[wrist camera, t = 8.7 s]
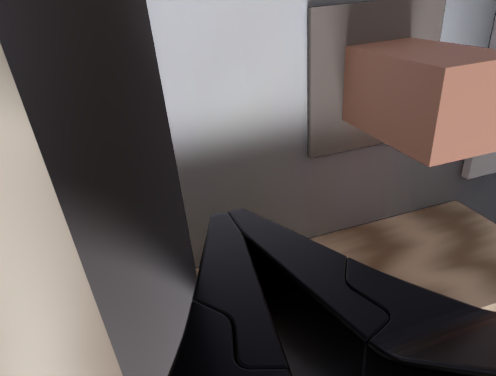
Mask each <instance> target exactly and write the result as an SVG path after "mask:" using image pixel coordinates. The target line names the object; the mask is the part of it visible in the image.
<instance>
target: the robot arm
mask: <svg viewBox="0 0 496 376" xmlns="http://www.w3.org/2000/svg"><path fill="white" fill-rule="evenodd" d="M167 376H496V312H495V311H490V310H486V309H482V308H479V307H476V306H473V305H470V304H467V303H464V302H462V301H459V300H456V299H453V298H451V297H448V296H445V295H442V294H440V293H437V292H434V291H431V290H429V289H426V288H423V287H421V286H418V285H415V284H412V283H410V282H407V281H404V280H402V279H399V278H397V277H394V276H391V275H389V274H386V273H384V272H381V271H379V270H377V269H375V268H372V267H370V266H368V265H365V264H363V263H361V262H359V261H357V260H354V259H352V258H350V257H348V258H347V256H345V255H343V254H341V253H339V252H337V251H335V250H332V249H330V248H328V247H326V246H324V245H322V244H319V243H317V242H315V241H313V240H311V239H309V238H306V237H304V236H302V235H300V234H298V233H296V232H294V231H291V230H289V229H287V228H285V227H283V226H281V225H278V224H276V223H274V222H272V221H270V220H268V219H265V218H263V217H261V216H259V215H257V214H255V213H252V212H250V211H248V210H246V209H243V208H240V209H236V210H232V211H228V212H223V213H219V214H214V215H212V216H211V218H210V222H209V226H208V231H207V235H206V240H205V244H204V248H203V253H202V257H201V262H200V266H199V271H198V275H197V279H196V284H195V288H194V293H193V297H192V302H191V305H190V309H189V314H188V318H187V321H186V325H185V329H184V332H183V336H182V338H181V341H180V344H179V347H178V349H177V352H176V355H175V358H174V360H173V363H172V365H171V368H170V370H169V372H168V375H167Z"/></svg>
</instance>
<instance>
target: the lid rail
mask: <svg viewBox="0 0 496 376" xmlns="http://www.w3.org/2000/svg"><path fill="white" fill-rule="evenodd" d="M310 239H311V240H313V241H315V242H317V243H319V244H322V245H324V246H326V247H328V248H330V249H332V250H335V251H337V252H339V253H341V254H343V255H345V256H347V258H348V257H350V258H352V259H354V260H357V261H359V262H361V263H363V264H365V265H368V266H370V267H372V268H375V269H377V270H379V271H381V272H384V273H386V274H389V275H391V276H394V277H397V278H399V279H402V280H404V281H407V282H410V283H412V284H415V285H418V286H421V287H423V288H426V289H429V290H431V291H434V292H437V293H440V294H442V295H445V296H448V297H451V298H453V299H456V300H459V301H462V302H464V303H467V304H470V305H473V306H476V307H479V308H482V309H486V310H490V311H495V312H496V224H495V223H493V222H492V221H490V220H488V219H487V218H485V217H483V216H481V215H480V214H478V213H476V212H475V211H473V210H471V209H470V208H468V207H466V206H465V205H463V204H461V203H460V202H458V201H456V200H455V201H451V202H447V203H443V204H440V205H436V206H432V207H428V208H424V209H420V210H417V211H413V212H409V213H405V214H401V215H398V216H394V217H390V218H386V219H382V220H379V221H375V222H371V223H367V224H363V225H359V226H356V227H352V228H348V229H344V230H340V231H337V232H333V233H329V234H325V235H321V236H318V237H314V238H310ZM198 271H199V268H196V274H197V275H198Z"/></svg>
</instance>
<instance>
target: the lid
mask: <svg viewBox="0 0 496 376" xmlns="http://www.w3.org/2000/svg"><path fill="white" fill-rule="evenodd" d="M196 279H197V274H196V269H195V263H194V258H193V252H192V247H191V242H190V236H189V231H188V225H187V220H186V215H185V209H184V204H183V198H182V193H181V188H180V182H179V177H178V171H177V166H176V161H175V155H174V150H173V144H172V139H171V134H170V128H169V123H168V117H167V112H166V107H165V101H164V96H163V90H162V85H161V80H160V74H159V69H158V63H157V58H156V53H155V47H154V42H153V36H152V31H151V26H150V20H149V15H148V9H147V4H146V0H0V376H167V375H168V372H169V370H170V368H171V365H172V363H173V360H174V358H175V355H176V352H177V349H178V347H179V344H180V341H181V338H182V336H183V332H184V329H185V325H186V321H187V318H188V314H189V309H190V305H191V302H192V297H193V293H194V288H195V284H196Z"/></svg>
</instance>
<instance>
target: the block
mask: <svg viewBox="0 0 496 376" xmlns="http://www.w3.org/2000/svg"><path fill="white" fill-rule="evenodd" d="M342 120H343V121H345V122H347V123H349V124H350V125H352V126H354V127H356V128H358V129H360V130H361V131H363V132H365V133H367V134H369V135H371V136H373V137H374V138H376V139H378V140H380V141H382V142H384V143H385V144H387V145H389V146H391V147H393V148H395V149H396V150H398V151H400V152H402V153H404V154H406V155H407V156H409V157H411V158H413V159H415V160H417V161H418V162H420V163H422V164H424V165H426V166H428V167H432V166H437V165H441V164H445V163H450V162H454V161H458V160H462V159H467V158H471V157H475V156H480V155H484V154H488V153H493V152H496V49H490V48H483V47H476V46H469V45H461V44H454V43H447V42H440V41H433V40H425V39H418V38H411V37H410V38H403V39H396V40H388V41H381V42H374V43H366V44H359V45H352V46H345V69H344V92H343V115H342Z"/></svg>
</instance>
